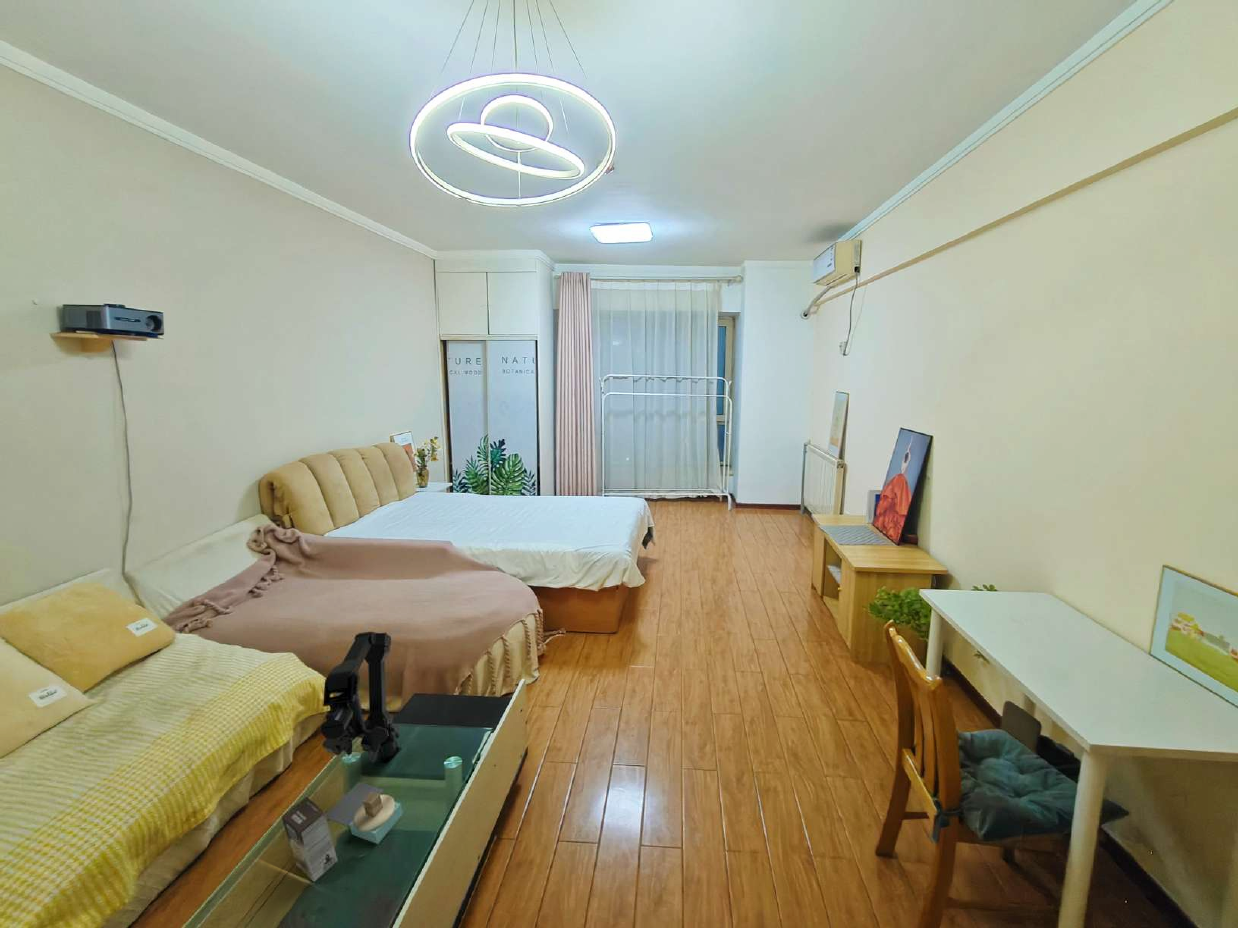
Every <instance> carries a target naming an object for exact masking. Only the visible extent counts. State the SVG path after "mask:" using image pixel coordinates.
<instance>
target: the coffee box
mask: <svg viewBox="0 0 1238 928" xmlns="http://www.w3.org/2000/svg"><path fill="white" fill-rule="evenodd" d="M325 815H326V813H325V811H324V810H323V809H322V808H321V807H319V806H318V805H317V804H316V803H315V802H313V801H312V800H311V799H310V798H309V797H307V796H305V797H304V798H303V799H302V800H300V801H299V802H298V803H297V804H295V805H294V806H292V807H291V808H290V809H289V810H288V811H286V812H285V813H284V814H283V815H282V816H281V820H282V824H283V827H284V830H285V834H286V836H287V839H288V842H289V846H290V849H291V852H292V855H293V858H294V862H295V864H296V866H297V867H298V868H299V869H300V870H301V871H302V872H303V873H304V874H305V875H306V876H307V877H308V878H309V879H310V880H311V881H312V882H316V881H317V880H318V879H319V878H320V877H322V875H323V874H325V873H326V872H327V871H328V870H329V869H330V868H332V867H333V866H334V864H335V863H337V862H338V857H337V853H336V849H335V846H334V842H333V839H332V835H331V831H330V828H329V824H328V819H327V818H326V816H325Z"/></svg>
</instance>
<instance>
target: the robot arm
mask: <svg viewBox="0 0 1238 928" xmlns="http://www.w3.org/2000/svg"><path fill="white" fill-rule="evenodd" d="M391 646H392V638H391V635H389V634H388V633H387V632H381V633H380V632H375V631H363V632H358V633H357V634H355V636H354V641H353V643H352V645H351V646H350V647H349V650H348V652H347V653H346V655H345V657H344V658H343V660H342V662H341V663H339V664H338V665H336V666H334V667H333V668H332V670H330V672H328V674H327V676H326V677H325V681H324V689H323V690H324V691H323V701H322V706H323V707H329V711H328V712H327V713H326V715H325V718H324V720H323V722H322V724H321V726H320V733H321V734H322V736H323V738H324V740H323V742H322V744H321V746H322V747H323V749H324V750H325V751H326V752H327V753H329V754H332V755H335V756H340V755H341V754H342V753H343V752H345V754H346V755H347V756H351V755H352V754H353V741H354V740H355V739H356V738H360V739H361V741H360V747H361V750H362V751H364V752H367V755H368V757H369V759H370V762H371V763H372V764H374V763H375V762H376V763H379V764H385V765H387V764H388V763H390V762H391V761H392V759H394V757H396V755H398V753H399V752H401V751H402V747H400V746H398V742H397V739H399V737H400V733H399V732H400V726H399V724H397V723H393V716H392V715H391V714H390V713H389V711H388V710H387V699H386V698H387V695H386V693H387V692H386V667H385V665H386V664H385V663H386V659H387V657H388V655H389V654H390V651H391V650H390V649H391ZM364 661H365V662H366V663H367V668H368V670H367V671H368V708H369V710H368V711H369V714H368V716H367V717H366V719H365V718H364V717H365V716H364V715H365V713H367V709H366V708H363V707H362V705H361V701H360V697H359V691H360V690H359V689H360V680H361V675H360V673H359V671H360V668H361V667H362V665H363V663H364ZM335 694H337V695H335ZM331 695H333V696H331ZM334 695H335V696H334Z"/></svg>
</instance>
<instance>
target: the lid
mask: <svg viewBox="0 0 1238 928" xmlns="http://www.w3.org/2000/svg"><path fill="white" fill-rule="evenodd" d="M395 802H396V801H395V799H394V798H393V796H391V795H389V794H377V793H374V792H371V793H370V794H369V795H368V796H367V797H366V798H365V799H364V800H363V804H362V805H361V806H360V808H359V809H358V810H357V812H356V814H355V817H354V823H355V826H356V828H357V829H358V830H360V831H371V830H374V829H377V828H379V827H380V826H382V825H383V824H385V823H386V822H387V821H388V820H389V819H390V818H391V816H392V815H393V813H394V811H395Z"/></svg>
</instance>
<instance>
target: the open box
mask: <svg viewBox="0 0 1238 928" xmlns="http://www.w3.org/2000/svg"><path fill="white" fill-rule="evenodd" d="M394 802H395V811H394V813H393V815H392V816H391V818H390V819H389V820H388V821H387V822H386V823H385V824H383V825H382V826H380V827H379V828H377V829H374V830H371V831H360V830H358V829H357V828H356V826H355V823H354V820H353V821H352V822H351V823H350V824H349V825H350V827H349V828H350V832H351V835H353V836H355V837H358V838H360V839H362V840H365V841H369V842H371V843H374V844H376V845H379V843H380V842H381V841H382V840H383V839H384V838H385V836H386V835H387V834H388V833H389V832H390V831H391V829H392V828H393V827H394V826H395V825H396V823H397V822H398V821H399V820H400V819H401V817H402V816H404V811H403V809H402V804H401V803H400V802H396V801H394Z"/></svg>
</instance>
